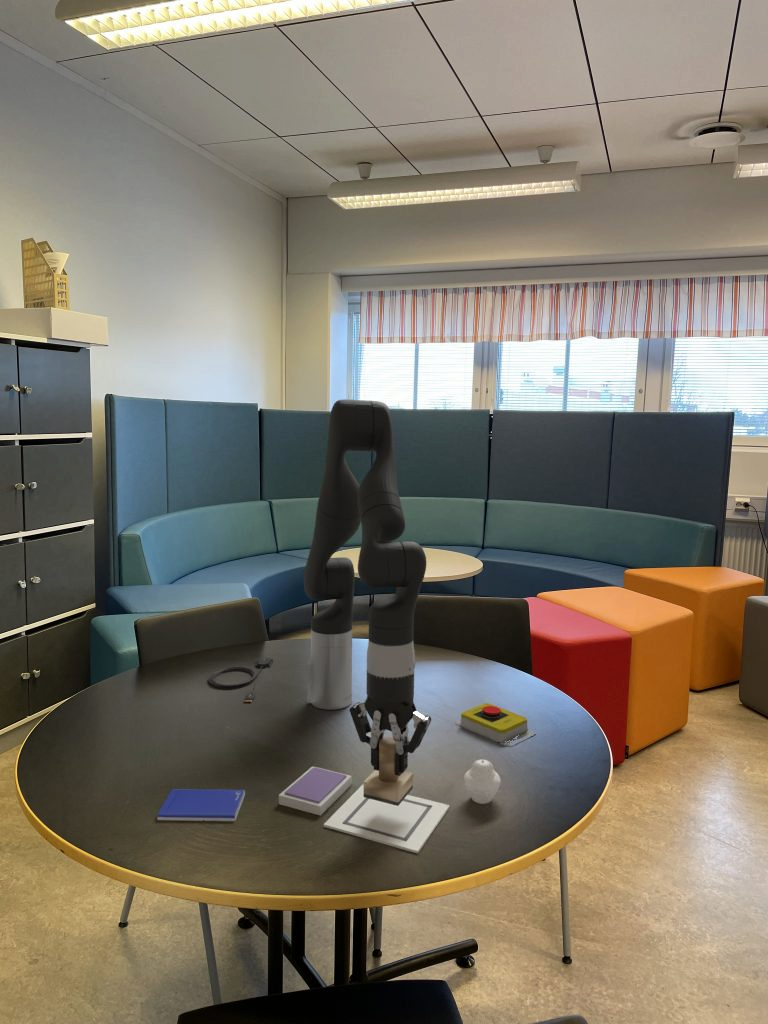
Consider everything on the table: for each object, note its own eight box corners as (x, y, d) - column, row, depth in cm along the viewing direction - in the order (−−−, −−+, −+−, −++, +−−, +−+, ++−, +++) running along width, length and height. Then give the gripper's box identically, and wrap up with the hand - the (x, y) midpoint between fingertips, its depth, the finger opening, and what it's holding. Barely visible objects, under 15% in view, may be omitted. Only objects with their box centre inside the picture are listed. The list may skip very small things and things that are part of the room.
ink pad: (278, 804, 118) (278, 793, 118) (312, 774, 128) (312, 764, 127) (320, 815, 114) (320, 804, 114) (351, 784, 124) (351, 774, 124)
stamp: (363, 797, 112) (363, 745, 111) (379, 780, 118) (380, 730, 117) (398, 806, 110) (398, 753, 109) (412, 788, 115) (413, 737, 114)
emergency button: (482, 694, 156) (538, 716, 145) (481, 713, 157) (537, 736, 146) (453, 705, 150) (510, 728, 139) (453, 725, 150) (510, 749, 140)
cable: (192, 704, 160) (192, 697, 160) (222, 662, 188) (222, 656, 188) (252, 705, 160) (252, 698, 160) (273, 663, 188) (273, 657, 187)
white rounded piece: (485, 813, 116) (487, 772, 115) (456, 799, 120) (457, 760, 119) (507, 798, 120) (508, 759, 120) (477, 785, 125) (478, 748, 124)
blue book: (245, 788, 121) (172, 787, 121) (235, 815, 113) (157, 814, 113) (245, 797, 121) (172, 796, 121) (235, 824, 113) (157, 823, 113)
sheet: (323, 826, 111) (323, 823, 111) (363, 785, 124) (363, 783, 124) (417, 853, 105) (418, 850, 105) (449, 807, 117) (449, 804, 117)
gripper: (339, 667, 111) (339, 771, 113) (423, 682, 105) (421, 791, 107) (361, 653, 118) (360, 752, 120) (440, 666, 112) (438, 770, 114)
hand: (389, 770), depth 113 cm, fingers closed on stamp, 3 cm apart
